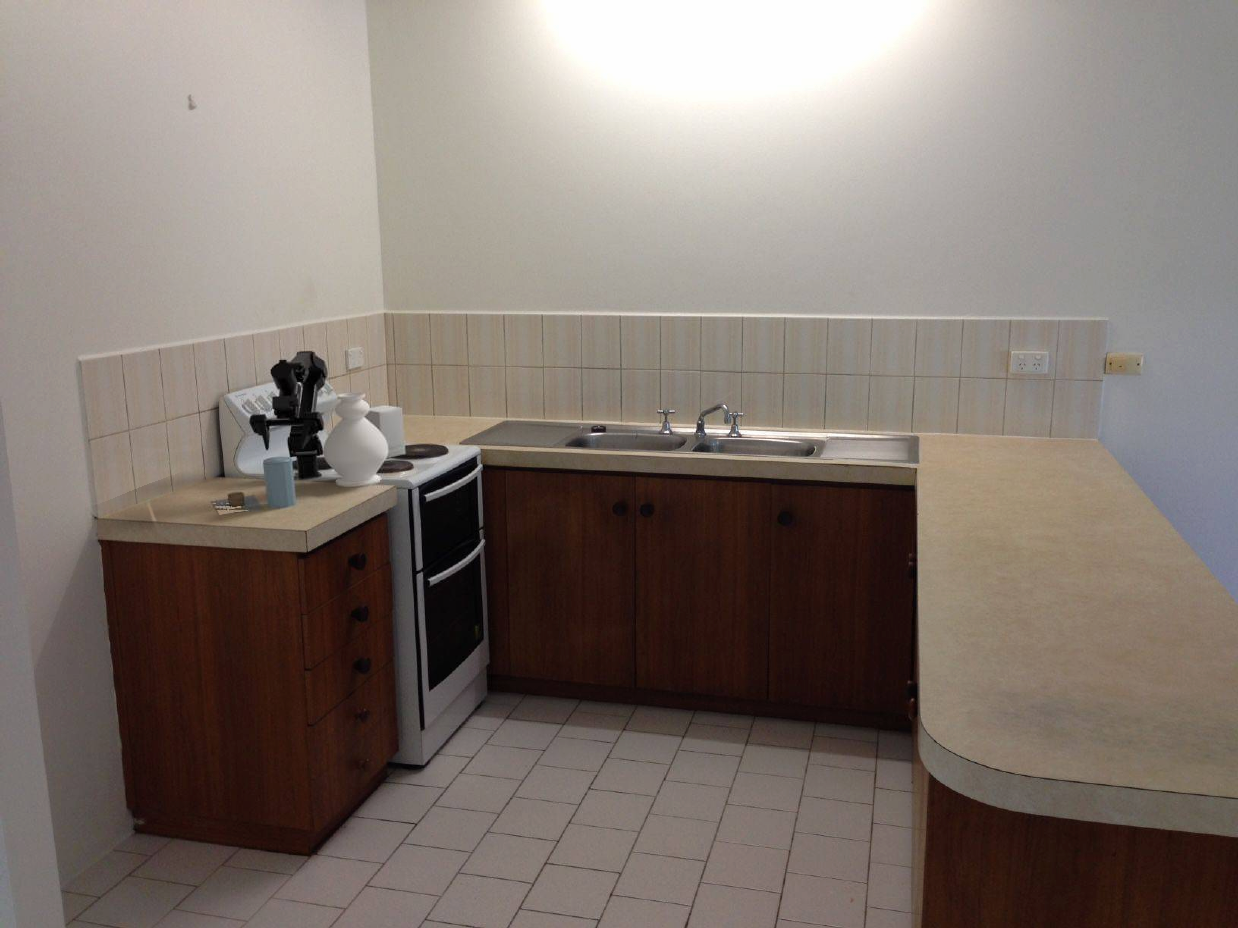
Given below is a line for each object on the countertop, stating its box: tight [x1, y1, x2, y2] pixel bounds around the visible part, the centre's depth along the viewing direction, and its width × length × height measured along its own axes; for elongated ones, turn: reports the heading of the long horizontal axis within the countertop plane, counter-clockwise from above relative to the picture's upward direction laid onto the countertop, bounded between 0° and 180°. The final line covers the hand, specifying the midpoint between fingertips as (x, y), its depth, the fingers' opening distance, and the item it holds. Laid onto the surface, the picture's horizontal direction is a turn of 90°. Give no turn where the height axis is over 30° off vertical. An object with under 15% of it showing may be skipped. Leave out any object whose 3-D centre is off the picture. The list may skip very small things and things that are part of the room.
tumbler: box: [262, 456, 297, 509], centre depth 284 cm, size 7×7×12 cm
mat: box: [210, 495, 264, 514], centre depth 286 cm, size 16×11×1 cm
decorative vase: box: [323, 391, 388, 488], centre depth 306 cm, size 18×18×25 cm
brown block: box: [227, 491, 245, 507], centre depth 285 cm, size 4×4×3 cm
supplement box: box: [364, 404, 406, 459], centre depth 339 cm, size 9×9×15 cm
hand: (284, 448), depth 290 cm, fingers open, 9 cm apart
